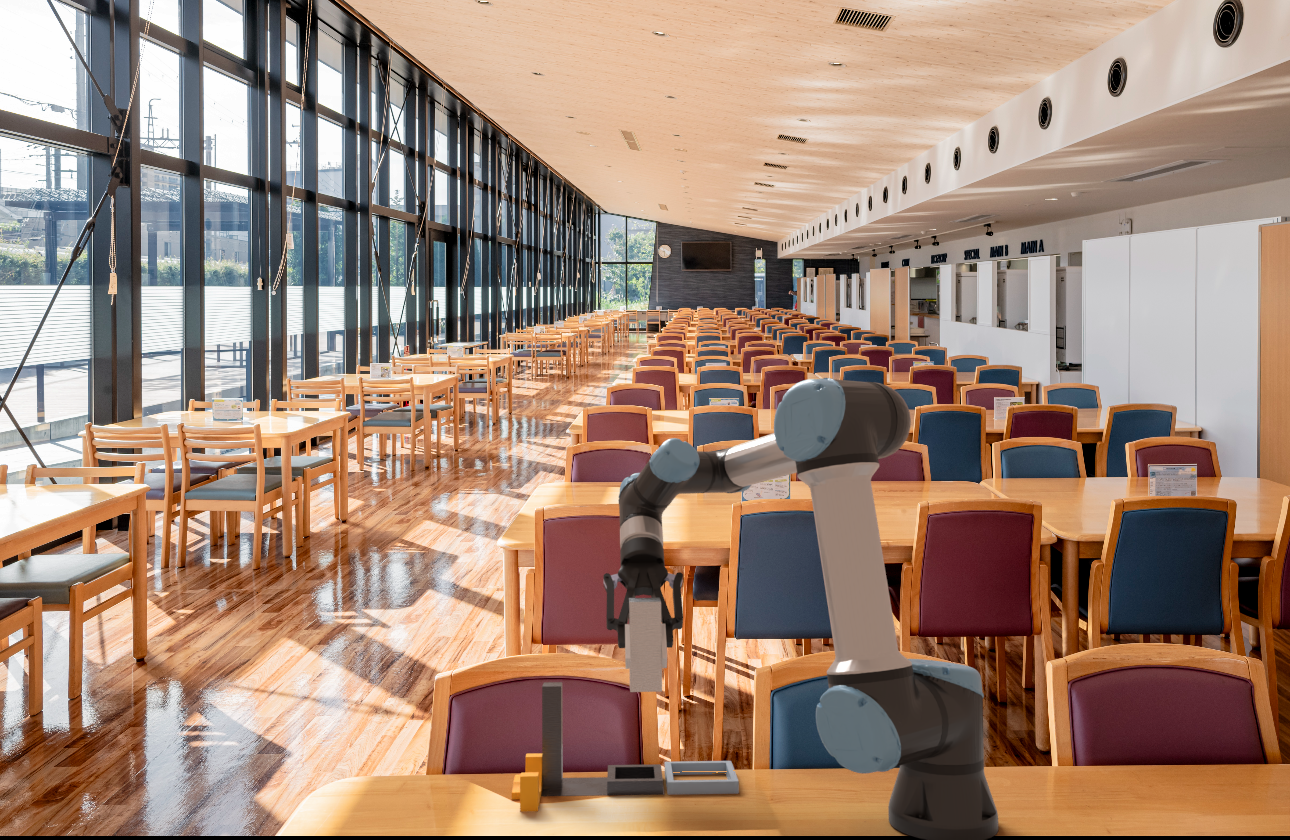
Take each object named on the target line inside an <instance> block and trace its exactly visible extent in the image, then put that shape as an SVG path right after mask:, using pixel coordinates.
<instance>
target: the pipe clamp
mask: <svg viewBox="0 0 1290 840" xmlns="http://www.w3.org/2000/svg"><path fill="white" fill-rule="evenodd" d="M524 764H525V768H524V769H525V770H524V771H525V772H521V773H520V774H517V773H516V774H515V775H514V777H513V783H512V789H511V800H519V812H523V813H524V812H525V813H526V812H527V813H528V812H538V811H539V806H540V803H541V797H542V796H541V793H542V752H541V753H535V752H534V753H526V754H525V763H524Z"/></svg>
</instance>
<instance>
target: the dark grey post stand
mask: <svg viewBox="0 0 1290 840" xmlns="http://www.w3.org/2000/svg"><path fill="white" fill-rule="evenodd" d="M541 700H542V702H541V705H542V706H541V707H542V709H541V710H542V711H541V714H542V715H541V717H542V718H541V723H542V724H541V725H542V726H541V727H542V728H541V729H542V731H541V735H542V736H541V737H542V739H541V743H542V744H541V746H542V748H541V749H542V750H541V753H542V793H541V797H587V796H588V797H589V796H590V797H593V796H595V797H596V796H602V797H603V796H652V795H653V796H655V795H656V796H657V795H658V796H660V795H665V789H664V788H665V787H664V778H663V771H662V770H663V769H662V764H656V763H655V764H608V765H607V776H606V777H604V776H603V777H600V776H599V777H598V776H596V777H592V776H591V777H563V776H564V772H563V771H564V769H563V767H564V765H563V763H564V762H563V759H564V755H563V753H564V752H563V750H564V747H563V745H564V744H563V743H564V742H563V737H564V736H563V734H564V733H563V721H564V720H563V718H564V717H563V716H564V715H563V682H562V681H560V682H556V681H555V682H551V681H549V682H543V684H542V685H541Z"/></svg>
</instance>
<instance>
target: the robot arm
mask: <svg viewBox="0 0 1290 840" xmlns="http://www.w3.org/2000/svg"><path fill="white" fill-rule="evenodd" d="M911 423H912V418H911V412H910V410H909V407H908V405H907V403H906V401H905V399H904V398H903V397H902V396H901V394H900V393H899V392H898V391H896V390H895V389H894V388H892V387H890V386H888V385H886V384H883V383H880V382H875V381H873V382H872V381H858V380H857V381H856V380H844V379H837V378H836V379H835V378H830V377H822V378H810V379H804V380H801V381H799V382H796V383H795V384H793V385H792V386H791V387H790V388H789V389H788V390H786V392H785V393H784V394H783V396H782V400H781V401H780V402H779V403H778V405H777V408H776V410H775V414H774V420H773V433H770V434H767V435H764V436H761V437H758V438H755V439H751V440H749V441H746V442H742V443H739V444H736V445H734V446H731V447H728V448H724V449H720V450H716V451H714V450H713V451H712V450H711V451H704V450H703V451H702V450H701V451H700V450H697V449H695V447H694V446H693V445H692V444H691V443H690V442H687V441H685V440H684V441H683V440H681V439H680V438H676V437H673V438H672V437H671V438H668V439H666V440H665V441H663V442H662V444H661V445H660V446H659V447H658V448H657V449H656V450H655V451H654V452H653V453H652V455H651V456H650V458H649V460H648V461H647V463H646V464H645V465H644V467H643V468H642V470H641V471H640V472H635V473H633V474H631V475H629V476H627V477H625V478H624V479H623V480H622V481H621V484H620V487H619V494H618V508H619V513H618V514H619V547H620V548H619V549H620V551H619V552H620V553H619V554H620V556H619V557H620V558H619V560H620V561H619V563H620V568H619V569H618V571H617V573H615V574H610V573H609V572H606V573H604V574H603V576H602V577H603V580H602V581H603V583H602V584H603V587H604V590H605V592H606V614H605V615H606V616H605V617H606V618H605V619H606V629H607V631H612V630H615V631H616V632H617V648H618V649H624V652H625V654H624V656H625V657H624V658H625V665H624V666H625V669H626V670H627V669H630V659H631V658H630V630H629V598H637V597H638V596H650V598H660V600H661V634H662V669H667V668H668V648H673V645H674V630H676V629H677V630H681V629H682V628H683V625H684V612H683V611H684V610H683V599H682V587H683V582H684V581H683V579H684V574H683V572H681V571H680V572H677V573H676V574H674V573H670V572H669V571H668V570H667V568H666V566H665V552H664V551H665V549H664V534H663V533H664V532H663V520H662V519H663V514H664V512H665V510H666V509H667V508H668V507H669V506H670V505H671V503H672V502H673V501H674V499H675V498H676V497H677V496H678V495H680V494H683V495H685V494H687V495H688V494H690V495H691V494H716V493H718V494H720V493H723V494H724V493H726V494H736V493H741V492H745V491H747V490H749V489H750V488H751V486H752V485H753V486H754V485H756V484H760V483H764V482H767V481H769V480H770V481H771V480H774V479H777V478H781V477H787V476H789V475H793V474H797V475H796V476H797V478H798V479H799V481H801V482H803V484H805V485H807V486H808V488H809V490H810V496H811V497H810V498H811V503H812V508H813V509H812V510H813V515H814V523H815V529H816V535H817V536H816V537H817V544H818V549H819V557H820V563H821V570H822V575H823V576H822V577H823V581H824V589H825V597H826V602H827V607H828V609H827V610H828V616H829V621H830V629H831V635H832V637H831V638H832V642H833V643H832V644H833V649H834V654H835V655H834V656H835V658H834V660H833V662H832V663H831V664H830V666H829V667H828V669H827V670H826V676H827V683H828V684H827V685H828V688H827V690H826V691H825V692H823V693H822V695H821V696H820V698H819V702H818V703H817V704H816V708H815V724H816V729H817V733H818V735H819V738H820V740H821V744H822V745H823V746H824V748H825V749H826V751H827V752H828V754H829V755H830V756H831V757H833V758H835V760H836V762H837V763H838V764H839V765H840V766H841V767H843V768H845V769H847V770H848V771H851V772H853V773H858V774H871V773H876V772H882V773H884V772H889V771H890V770H892V769H894V768H897V767H899V770H898V773H897V776H896V779H895V781H894V785H893V789H892V792H891V795H890V798H889V802H888V806H887V807H888V809H887V810H888V822H889V825H891V827H893V828H894V829H895V830H896V831H899V832H901V833H902V834H906V835H908V836H911V837H914V838H917V839H921V840H988V839H991V838H992V837H994V836H996V835H997V834H998V833H999V814H998V810H997V806H996V804H995V801H994V798H993V795H992V793H991V789H990V786H989V784H988V781H987V777H986V775H985V764H984V763H985V759H984V757H985V755H984V753H985V752H984V749H985V748H984V707H983V705H984V700H983V699H984V697H985V695H984V693H983V682H982V676H981V674H980V672H979V670H977V669H975V668H974V667H971V666H968V665H964V664H960V663H956V662H955V663H954V662H947V661H940V660H934V659H933V660H932V659H924V658H923V659H921V658H907V657H905V656H904V655H903V654H902V653H901V652H900V650H899V646H898V641H897V633H896V628H895V627H896V626H895V621H894V616H893V609H892V604H891V597H890V591H889V584H888V579H887V575H886V574H887V572H886V567H885V566H886V565H885V562H884V561H885V560H884V555H883V547H882V542H881V541H882V540H881V536H880V530H879V529H880V528H879V524H878V518H877V511H876V507H875V505H876V504H875V499H874V491H873V486H872V477H873V476H874V474H875V473H876V472H877V470H878V469H879V468H880V461H879V459H884V458H887V457H889V456H892V455H894V454H896V452H897V451H898V450H900V449H901V448H902V447H903V446H904V444H905V443H906V441H907V439H908V437H909V434H910V430H911V425H912V424H911ZM618 582H620V584H621V585H622V586H623V588H625V589H626V593H625V595H624V598H623V602H622V605H621V609H620V612H619V615H618V618H615V589H616V588H618ZM665 583H668V584H669V587H670V589H672V602H673V603H672V604H673V605H672V606H673V616H674V617H672V616H671V614H670V613H671V612H670V610H669V608H668V605H667V603H666V601H665V598H664V595H663V592H662V589H661V588H662V587H663V586H664V585H665Z"/></svg>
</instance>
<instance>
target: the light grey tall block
mask: <svg viewBox="0 0 1290 840" xmlns="http://www.w3.org/2000/svg"><path fill="white" fill-rule="evenodd" d="M628 624H629V630H630V658H631V659H630V669H629V692H630V693H643V692H645V693H649V692H650V693H651V692H653V693H654V692H663V668H662V634H661V624H662V622H661V600H660V598H652V597H635V598H629V619H628Z"/></svg>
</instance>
